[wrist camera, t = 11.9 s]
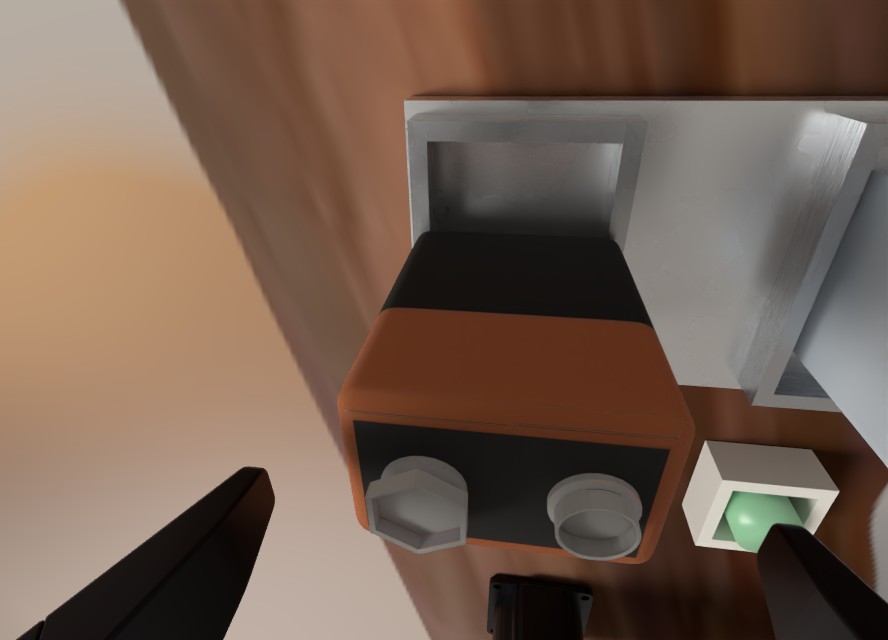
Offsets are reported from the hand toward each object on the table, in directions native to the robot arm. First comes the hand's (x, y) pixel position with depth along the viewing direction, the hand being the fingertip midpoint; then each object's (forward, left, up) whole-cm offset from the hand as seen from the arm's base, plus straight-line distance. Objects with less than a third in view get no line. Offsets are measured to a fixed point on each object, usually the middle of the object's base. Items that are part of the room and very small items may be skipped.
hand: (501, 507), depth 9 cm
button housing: (-12, -12, -13) cm, 21 cm away
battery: (-1, 0, -10) cm, 10 cm away
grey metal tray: (0, -7, -13) cm, 14 cm away
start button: (-12, -12, -12) cm, 21 cm away
